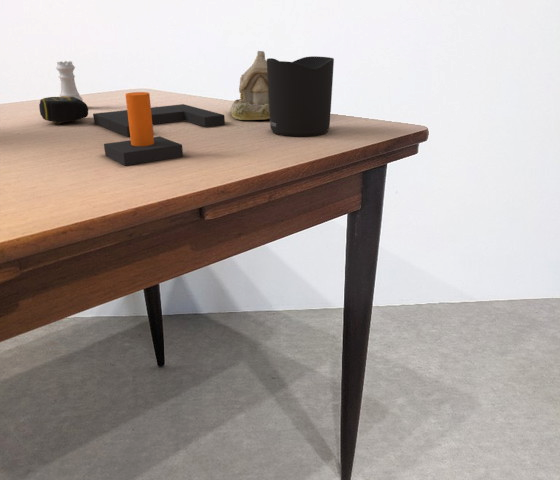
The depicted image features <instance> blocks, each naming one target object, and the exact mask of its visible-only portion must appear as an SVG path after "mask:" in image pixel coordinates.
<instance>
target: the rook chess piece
mask: <svg viewBox="0 0 560 480" xmlns="http://www.w3.org/2000/svg"><path fill="white" fill-rule="evenodd" d="M56 63H57V65H56V67H55V69H56V70H57V71H58V73H59V75H58V78H59V81H60V94H59V97H75V98H77V99H79V100H81V101H83V97H82V96H81V95H80V93H79V90H78V89H77V85H76V81H75V78H76V75H75V74H74V70H75V69H76V66H75V65H74V63H73V61H71V60H70V61H67V60H65V61H57V62H56ZM83 102H84V101H83Z"/></svg>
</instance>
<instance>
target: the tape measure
mask: <svg viewBox="0 0 560 480" xmlns="http://www.w3.org/2000/svg"><path fill="white" fill-rule="evenodd" d="M38 105H39V106H38V107H39V114H40V116H41V118H42V119H43V120H44V121H47V122H53V124H56V125H60V124H62V123H66V122H73V121H74V122H76V121H78V120H81V119H86V118H87V117H88V115H89V107H88V105H87V104H86V102H85V101H81V100H79V99H77V98H75V97H60V96H47V97H43V98H41V99H40V101H39V103H38Z"/></svg>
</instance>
